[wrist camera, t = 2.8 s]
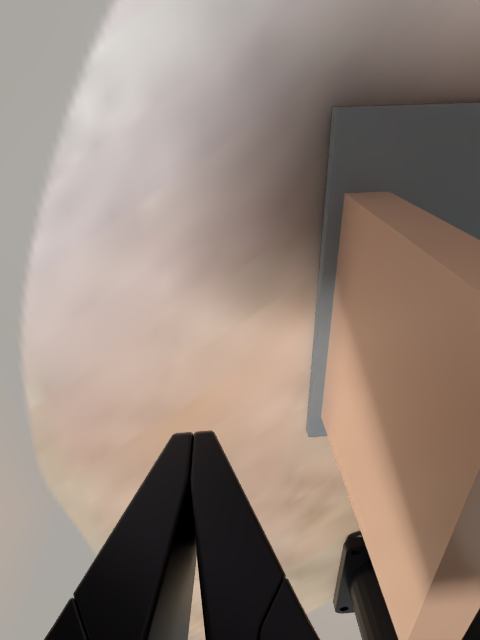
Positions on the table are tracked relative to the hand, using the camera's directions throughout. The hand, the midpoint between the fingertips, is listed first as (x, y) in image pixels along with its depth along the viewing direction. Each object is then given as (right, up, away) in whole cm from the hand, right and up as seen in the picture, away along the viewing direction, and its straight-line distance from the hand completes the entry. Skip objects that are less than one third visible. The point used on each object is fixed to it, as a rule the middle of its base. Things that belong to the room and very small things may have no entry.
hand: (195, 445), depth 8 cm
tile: (+4, +3, +4) cm, 7 cm away
